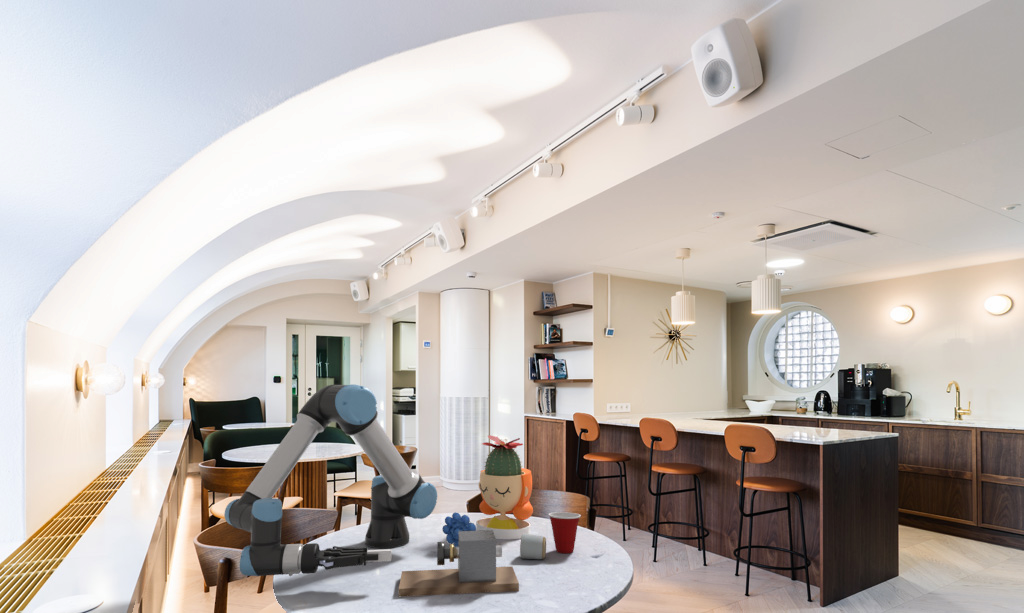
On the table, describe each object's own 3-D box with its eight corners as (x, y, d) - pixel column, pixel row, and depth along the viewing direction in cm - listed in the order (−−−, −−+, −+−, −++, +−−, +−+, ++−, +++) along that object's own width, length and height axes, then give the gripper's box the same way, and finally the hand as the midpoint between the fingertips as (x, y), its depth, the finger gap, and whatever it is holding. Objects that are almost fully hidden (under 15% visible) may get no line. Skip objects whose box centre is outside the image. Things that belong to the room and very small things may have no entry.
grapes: (440, 553, 191) (440, 515, 192) (443, 547, 198) (443, 510, 199) (475, 553, 191) (475, 515, 192) (477, 547, 197) (477, 510, 199)
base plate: (398, 596, 154) (398, 588, 154) (401, 578, 167) (401, 571, 168) (518, 590, 158) (518, 583, 158) (512, 573, 171) (512, 566, 172)
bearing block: (459, 583, 158) (459, 541, 159) (458, 571, 168) (458, 531, 169) (496, 581, 159) (496, 539, 160) (492, 569, 169) (492, 530, 170)
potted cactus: (515, 542, 203) (515, 440, 207) (464, 533, 215) (465, 436, 219) (546, 528, 221) (545, 434, 225) (497, 520, 233) (497, 431, 237)
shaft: (437, 568, 159) (437, 545, 160) (437, 561, 165) (437, 539, 166) (502, 565, 162) (502, 543, 162) (500, 558, 168) (500, 537, 168)
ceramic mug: (544, 562, 182) (544, 537, 183) (519, 561, 183) (519, 536, 184) (547, 553, 192) (547, 529, 193) (523, 552, 193) (523, 528, 194)
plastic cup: (584, 547, 197) (584, 511, 198) (577, 557, 187) (576, 518, 188) (553, 544, 200) (553, 508, 202) (544, 553, 190) (544, 515, 192)
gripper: (307, 565, 164) (392, 561, 167) (296, 581, 151) (389, 577, 154) (308, 537, 165) (393, 534, 168) (297, 551, 152) (389, 547, 155)
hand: (391, 555), depth 161 cm, fingers closed
